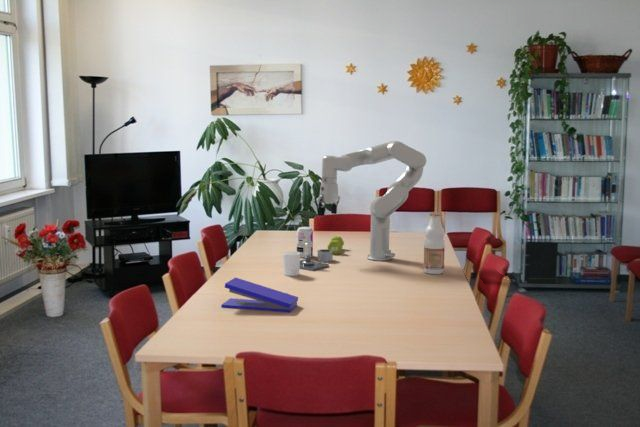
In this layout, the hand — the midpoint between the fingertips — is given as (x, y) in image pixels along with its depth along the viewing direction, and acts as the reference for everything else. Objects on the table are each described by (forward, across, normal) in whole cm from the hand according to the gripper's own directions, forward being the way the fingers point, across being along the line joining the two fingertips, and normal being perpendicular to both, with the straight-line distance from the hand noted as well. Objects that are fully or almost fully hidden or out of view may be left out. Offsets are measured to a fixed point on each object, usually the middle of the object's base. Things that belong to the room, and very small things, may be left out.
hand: (327, 214), depth 370 cm
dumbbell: (+23, +18, +8) cm, 30 cm away
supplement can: (+23, -3, +11) cm, 26 cm away
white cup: (+24, -38, -11) cm, 46 cm away
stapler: (+24, -85, -39) cm, 97 cm away
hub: (+23, -4, -3) cm, 23 cm away
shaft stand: (+23, -20, -6) cm, 31 cm away
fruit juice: (+21, +10, -57) cm, 62 cm away
